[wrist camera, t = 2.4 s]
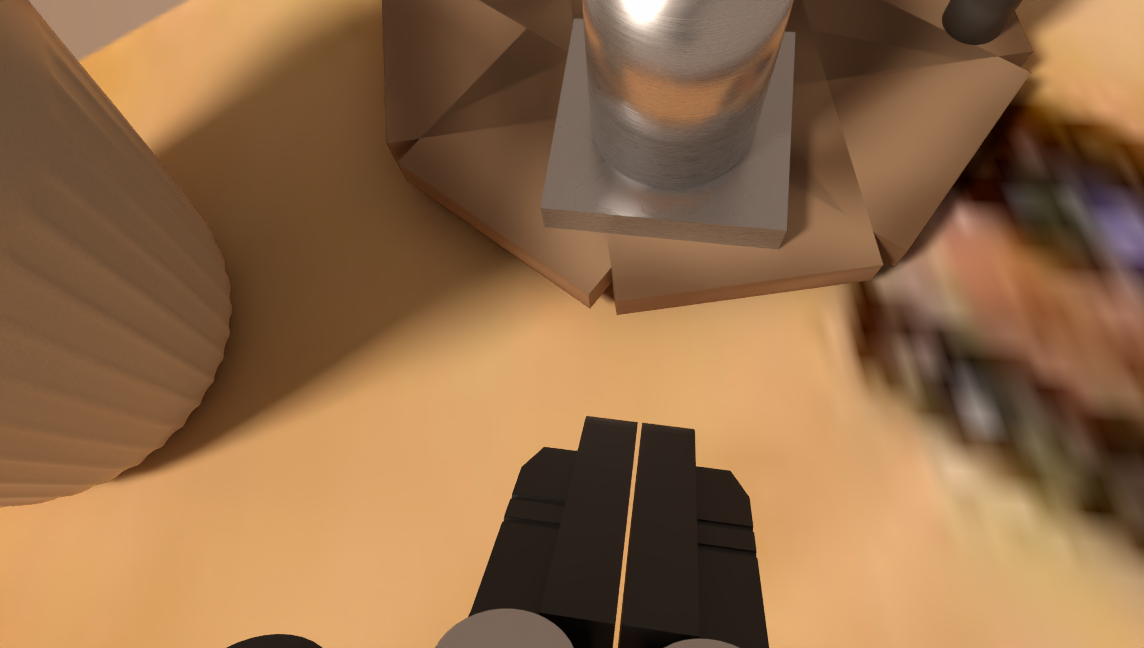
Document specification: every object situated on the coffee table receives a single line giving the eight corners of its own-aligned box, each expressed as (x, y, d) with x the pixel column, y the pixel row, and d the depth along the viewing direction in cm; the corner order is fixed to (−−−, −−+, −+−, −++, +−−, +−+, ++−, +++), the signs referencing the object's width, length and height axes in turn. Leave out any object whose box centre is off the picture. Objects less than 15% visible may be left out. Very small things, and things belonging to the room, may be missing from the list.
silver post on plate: (576, 44, 31) (553, -227, 21) (787, 58, 30) (873, -219, 20) (544, 227, 28) (499, 15, 18) (778, 249, 27) (874, 40, 17)
